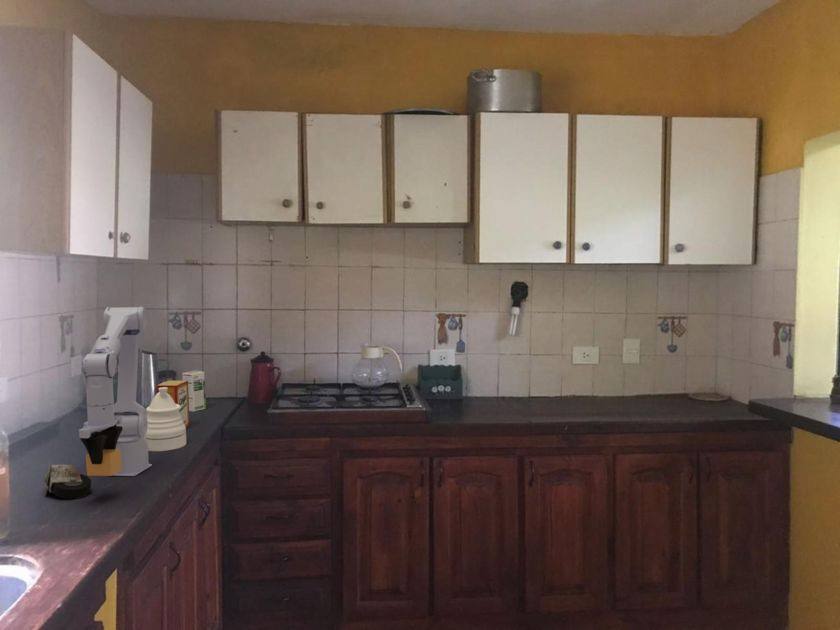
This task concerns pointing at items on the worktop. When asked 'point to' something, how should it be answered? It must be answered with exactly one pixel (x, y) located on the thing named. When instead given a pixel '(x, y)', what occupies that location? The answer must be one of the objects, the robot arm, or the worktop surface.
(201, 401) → the syrup box
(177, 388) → the baking soda box
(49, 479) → the caster wheel
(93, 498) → the worktop surface
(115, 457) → the block
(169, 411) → the honey pot
